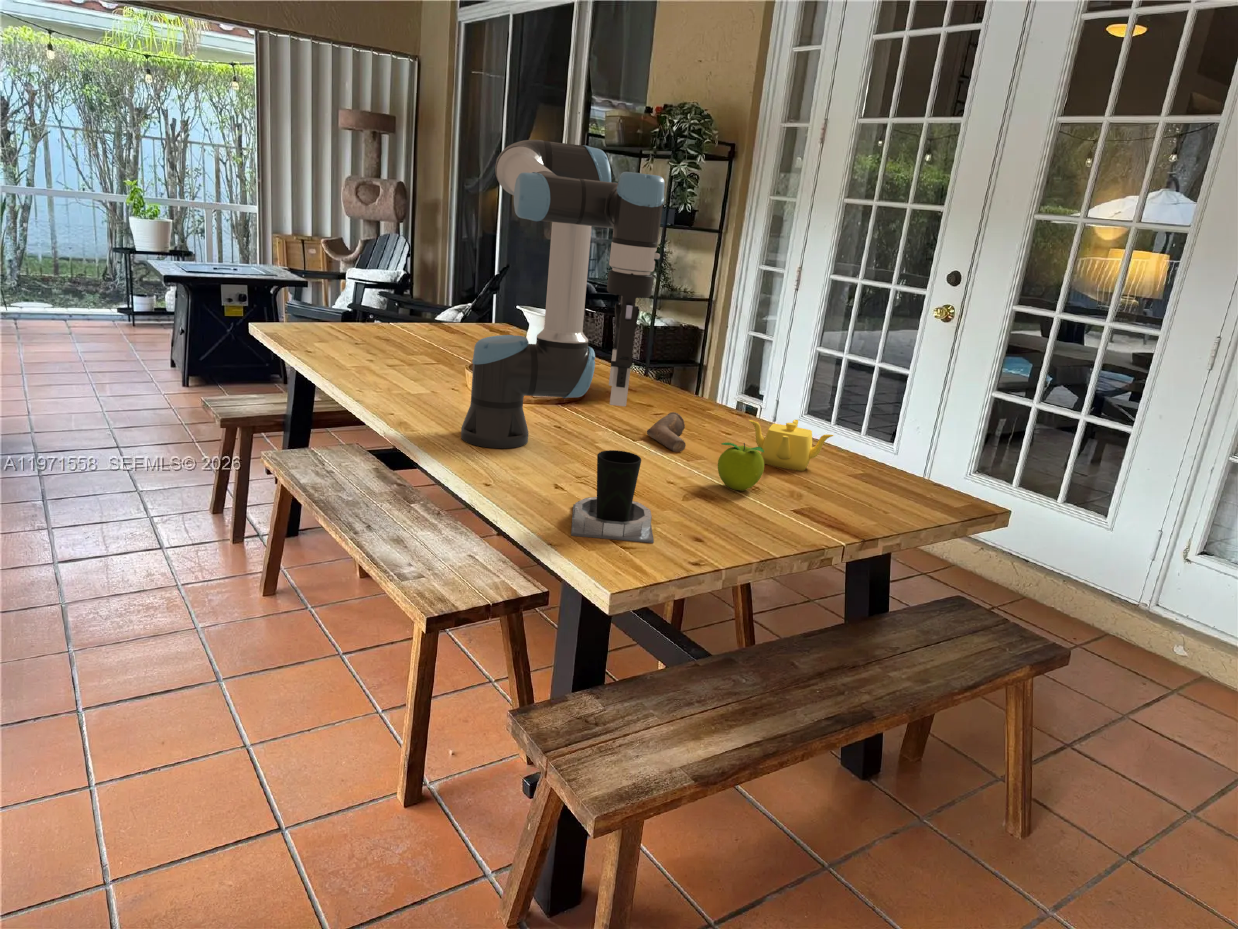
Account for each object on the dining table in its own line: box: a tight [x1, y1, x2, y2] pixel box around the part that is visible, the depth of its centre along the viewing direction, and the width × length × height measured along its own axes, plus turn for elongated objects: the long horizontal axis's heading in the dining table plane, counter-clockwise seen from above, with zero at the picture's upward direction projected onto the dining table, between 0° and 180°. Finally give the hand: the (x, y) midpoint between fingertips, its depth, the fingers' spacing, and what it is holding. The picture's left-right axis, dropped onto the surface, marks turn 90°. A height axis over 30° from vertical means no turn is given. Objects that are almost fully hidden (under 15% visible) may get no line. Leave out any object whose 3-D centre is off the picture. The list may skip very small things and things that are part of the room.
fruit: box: [717, 441, 765, 492], centre depth 174 cm, size 9×9×10 cm
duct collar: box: [570, 496, 655, 544], centre depth 148 cm, size 14×14×3 cm
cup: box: [596, 449, 642, 522], centre depth 147 cm, size 8×8×12 cm
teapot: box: [748, 419, 835, 472], centre depth 197 cm, size 15×14×10 cm
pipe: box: [646, 412, 686, 453], centre depth 204 cm, size 6×17×10 cm
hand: (616, 395), depth 146 cm, fingers open, 13 cm apart
